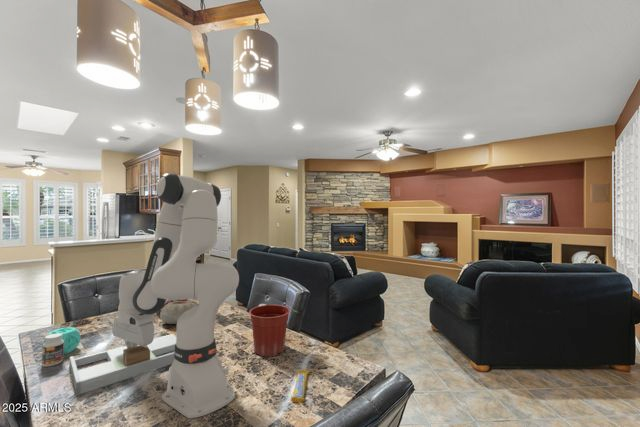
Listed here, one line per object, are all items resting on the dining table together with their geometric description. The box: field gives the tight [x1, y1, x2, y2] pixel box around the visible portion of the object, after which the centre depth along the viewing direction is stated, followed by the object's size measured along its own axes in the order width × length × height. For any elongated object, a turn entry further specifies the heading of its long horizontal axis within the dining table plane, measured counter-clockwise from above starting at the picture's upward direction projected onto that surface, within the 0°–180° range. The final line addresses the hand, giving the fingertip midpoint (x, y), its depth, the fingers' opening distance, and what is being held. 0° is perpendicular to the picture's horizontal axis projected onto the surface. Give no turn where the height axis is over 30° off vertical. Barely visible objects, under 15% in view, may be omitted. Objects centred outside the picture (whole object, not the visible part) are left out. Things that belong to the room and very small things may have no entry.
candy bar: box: [291, 369, 310, 403], centre depth 91 cm, size 17×4×2 cm, turn 177°
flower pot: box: [248, 304, 291, 357], centre depth 117 cm, size 16×16×16 cm
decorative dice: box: [42, 326, 81, 355], centre depth 113 cm, size 8×8×8 cm
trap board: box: [69, 333, 176, 396], centre depth 105 cm, size 22×34×4 cm, turn 135°
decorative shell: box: [159, 300, 198, 325], centre depth 146 cm, size 18×18×10 cm
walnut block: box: [123, 345, 150, 367], centre depth 101 cm, size 7×7×4 cm
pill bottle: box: [41, 333, 65, 367], centre depth 104 cm, size 6×6×10 cm
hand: (131, 352), depth 105 cm, fingers closed
